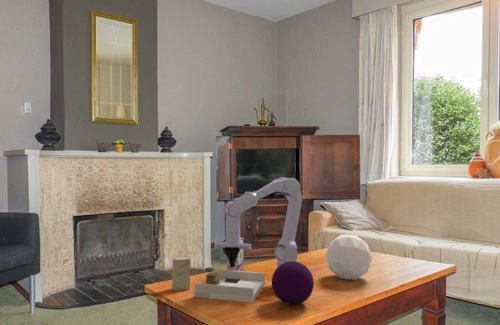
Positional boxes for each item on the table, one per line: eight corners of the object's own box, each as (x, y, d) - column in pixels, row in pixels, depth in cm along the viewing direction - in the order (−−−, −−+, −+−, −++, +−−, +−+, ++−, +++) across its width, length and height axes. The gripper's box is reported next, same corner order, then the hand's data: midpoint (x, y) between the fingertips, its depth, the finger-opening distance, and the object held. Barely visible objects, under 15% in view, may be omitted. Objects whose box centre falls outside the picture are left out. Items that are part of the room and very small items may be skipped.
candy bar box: (232, 273, 189) (233, 237, 189) (243, 274, 188) (243, 237, 188) (226, 280, 178) (226, 241, 178) (237, 281, 177) (238, 242, 177)
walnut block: (219, 283, 167) (219, 273, 167) (215, 286, 163) (215, 275, 163) (209, 282, 168) (209, 272, 168) (206, 285, 164) (206, 274, 164)
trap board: (265, 285, 171) (265, 272, 171) (252, 302, 150) (252, 288, 150) (214, 280, 177) (214, 269, 177) (194, 297, 155) (195, 283, 155)
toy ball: (265, 307, 146) (265, 264, 146) (279, 294, 159) (280, 255, 159) (306, 313, 140) (307, 269, 140) (318, 300, 153) (318, 259, 153)
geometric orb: (360, 294, 182) (388, 263, 173) (322, 281, 176) (348, 248, 168) (348, 263, 198) (372, 233, 190) (312, 251, 192) (336, 219, 184)
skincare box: (174, 291, 162) (175, 260, 162) (171, 288, 166) (171, 257, 166) (190, 289, 165) (190, 258, 165) (186, 286, 169) (187, 256, 169)
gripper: (211, 232, 161) (211, 267, 161) (248, 234, 158) (248, 270, 158) (217, 229, 168) (217, 263, 168) (252, 231, 165) (252, 266, 165)
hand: (232, 266), depth 163 cm, fingers closed
